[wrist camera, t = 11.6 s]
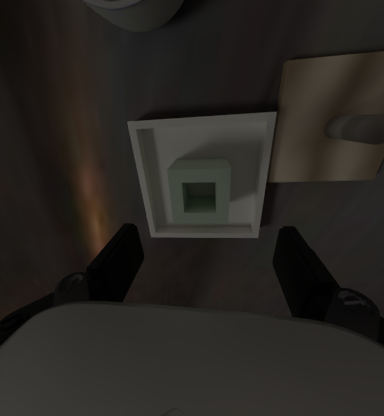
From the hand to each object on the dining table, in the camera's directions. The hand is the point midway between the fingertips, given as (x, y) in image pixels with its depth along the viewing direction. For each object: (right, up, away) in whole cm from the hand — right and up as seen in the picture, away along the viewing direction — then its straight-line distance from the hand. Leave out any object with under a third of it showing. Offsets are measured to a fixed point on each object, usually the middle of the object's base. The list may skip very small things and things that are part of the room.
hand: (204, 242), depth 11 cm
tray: (0, +6, +12) cm, 13 cm away
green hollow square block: (0, +6, +11) cm, 13 cm away
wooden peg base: (+15, +11, +8) cm, 20 cm away
